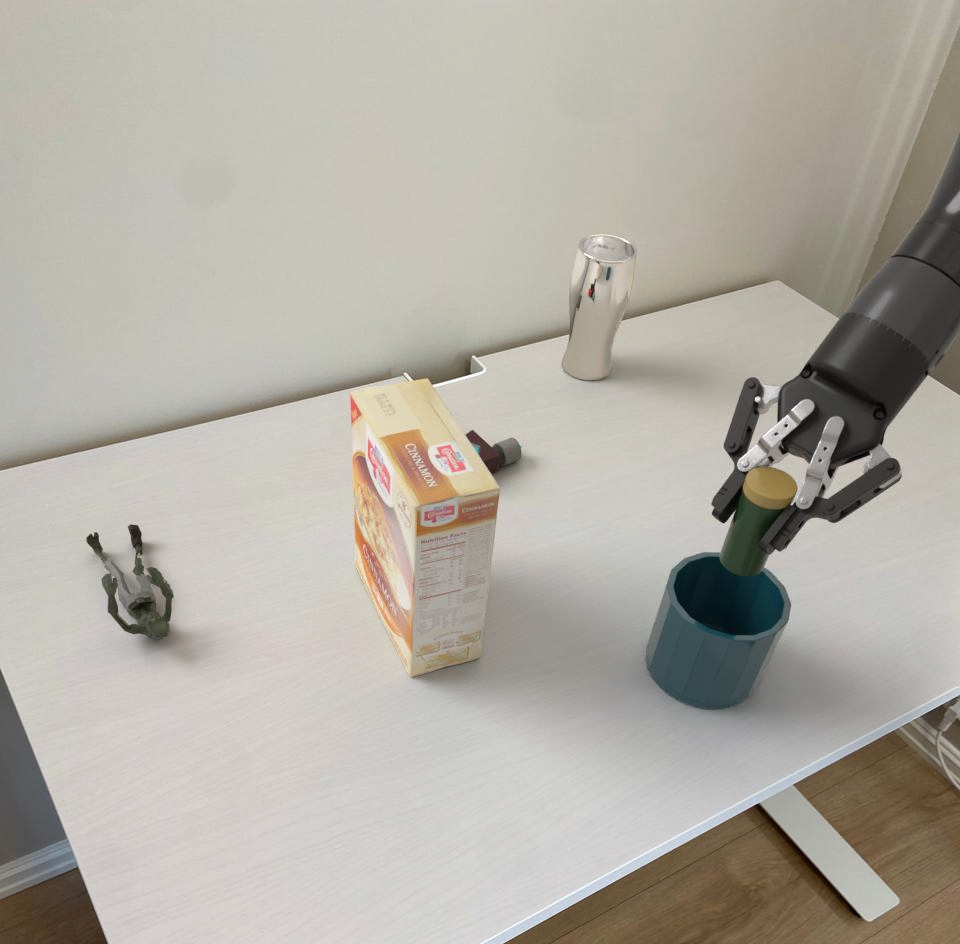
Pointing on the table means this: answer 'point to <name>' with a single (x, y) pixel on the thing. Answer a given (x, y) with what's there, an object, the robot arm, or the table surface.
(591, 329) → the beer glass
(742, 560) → the tea tin
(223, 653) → the table surface
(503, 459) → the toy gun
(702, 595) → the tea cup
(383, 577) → the coffeecake box
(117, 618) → the zombie figurine
